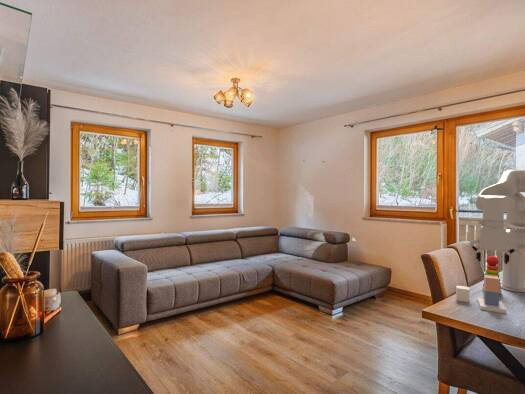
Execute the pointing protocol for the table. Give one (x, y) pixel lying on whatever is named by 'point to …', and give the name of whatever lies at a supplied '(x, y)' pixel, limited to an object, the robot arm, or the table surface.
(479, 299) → the tower base
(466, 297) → the cream brick
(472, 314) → the table surface
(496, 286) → the terracotta brick
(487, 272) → the stacking toy
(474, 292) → the table surface
